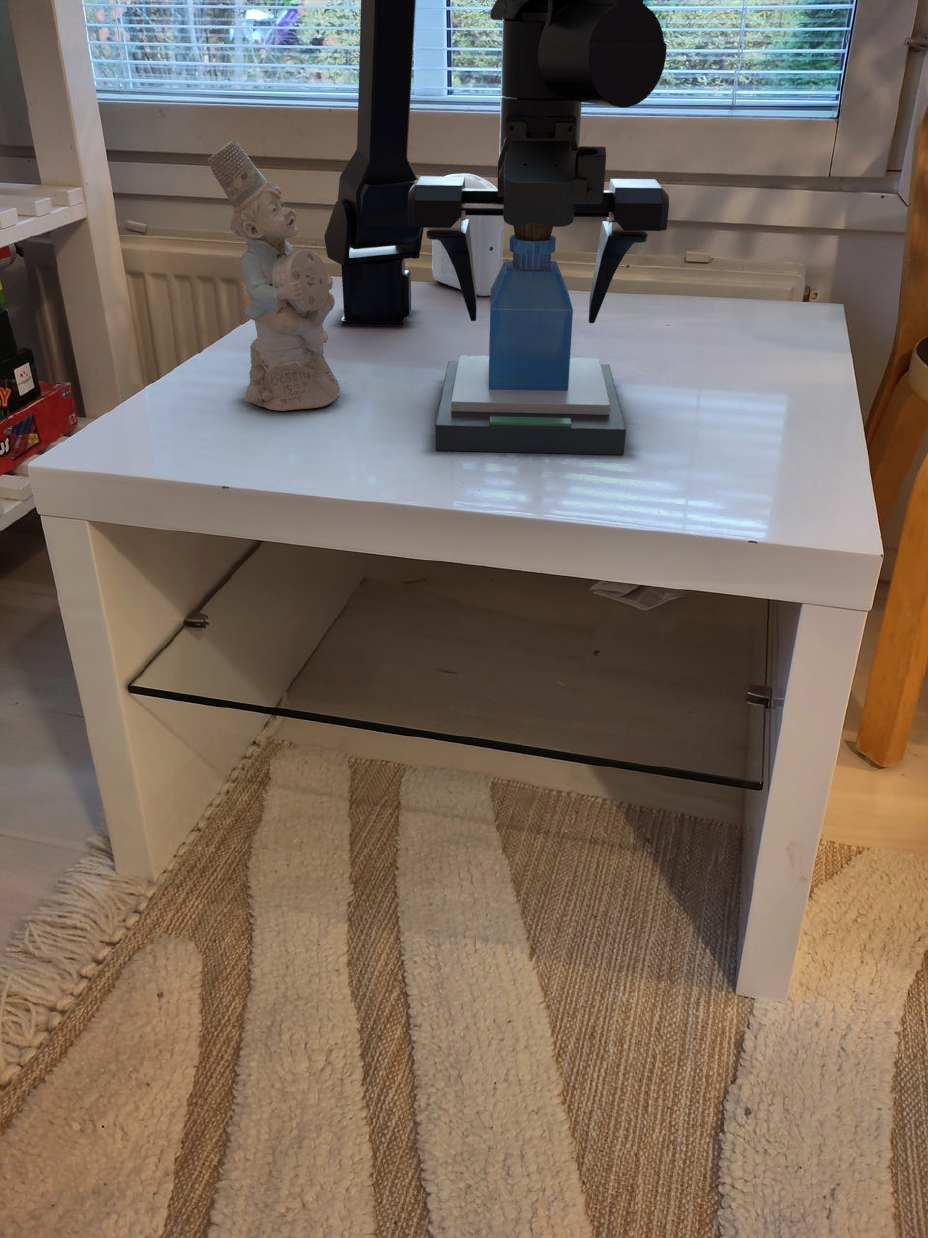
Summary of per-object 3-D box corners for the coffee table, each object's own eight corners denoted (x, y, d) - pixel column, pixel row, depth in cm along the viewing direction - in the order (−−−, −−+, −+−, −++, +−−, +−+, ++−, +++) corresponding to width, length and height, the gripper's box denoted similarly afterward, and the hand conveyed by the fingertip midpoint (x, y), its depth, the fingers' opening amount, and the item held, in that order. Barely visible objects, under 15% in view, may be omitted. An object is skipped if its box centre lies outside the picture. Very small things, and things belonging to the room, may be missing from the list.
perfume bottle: (568, 390, 79) (578, 228, 73) (488, 389, 79) (491, 227, 73) (563, 366, 84) (572, 213, 78) (488, 365, 84) (491, 212, 78)
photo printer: (507, 293, 118) (510, 178, 111) (477, 298, 115) (479, 181, 109) (456, 276, 125) (456, 167, 118) (427, 281, 123) (426, 170, 116)
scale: (435, 450, 76) (435, 414, 74) (448, 383, 89) (448, 351, 88) (623, 455, 75) (627, 418, 74) (607, 386, 89) (610, 354, 87)
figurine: (217, 406, 84) (184, 139, 73) (274, 377, 90) (251, 129, 80) (309, 422, 81) (288, 146, 70) (361, 391, 87) (349, 134, 77)
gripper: (397, 104, 65) (403, 348, 73) (691, 107, 64) (665, 353, 72) (412, 92, 74) (416, 309, 82) (669, 95, 73) (648, 313, 82)
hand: (532, 320), depth 79 cm, fingers open, 9 cm apart
